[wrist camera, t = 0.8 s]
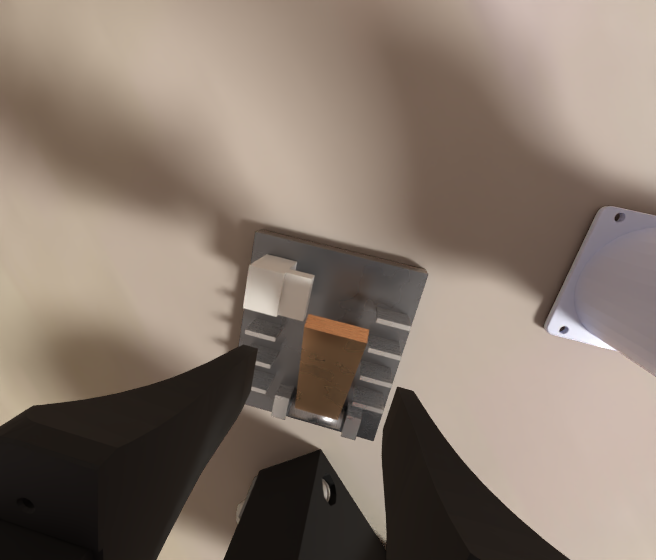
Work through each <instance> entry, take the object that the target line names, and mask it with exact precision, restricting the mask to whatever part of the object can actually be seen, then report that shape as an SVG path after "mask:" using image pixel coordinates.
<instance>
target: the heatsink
mask: <svg viewBox="0 0 656 560" xmlns="http://www.w3.org/2000/svg"><path fill="white" fill-rule="evenodd" d="M266 254H269V255H273V256H277V257H281V258H285V259H289V260H293V261H297V265H296V271H300V272H304V273H308V274H312V275H315V276H314V281H313V285H312V290H311V295H310V299H309V304H308V309H307V314H306V317H305V319H304V321H299V320H296V319H292V318H288V317H284V316H280V315H277V317H275V316H271V315H267V314H264V313H260V312H256V311H252V310H249V309H245V308H244V313H243V319H242V326H241V333H240V340H239V346H241V345H243V344H244V345H247V346H251V347H255V348H258V352H257V358H256V364H255V370H254V376H253V382H252V387H251V392H250V394H249V396H248V398H247V401H246V403H245V404H246V405H250V406H253V407H256V408H260V409H263V410H267V411H270V412H272V414H271V416H273V417H276V418H279V419H283V420H285V418H286V416H288V417H291V418H295V419H298V420H302V421H305V422H309V423H312V424H315V425H319V426H322V427H326V428H329V429H333V430H336V431H340V432H341V436H342V437H345V438H349V439H352V440H355V439H356V436H357V437H361V438H364V439H367V440H371V441H374V438H375V435H376V432H377V429H378V426H379V423H380V420H381V416H382V414H383V411H384V407H385V404H386V401H387V398H388V395H389V392H390V389H391V387H392V383H393V380H394V377H395V374H396V371H397V368H398V365H399V362H400V360H401V357H402V353H403V350H404V347H405V344H406V341H407V338H408V335H409V331H410V329H411V325H412V322H413V319H414V316H415V313H416V310H417V307H418V304H419V301H420V298H421V295H422V292H423V289H424V286H425V283H426V280H427V277H428V273H427V271H426V270H425V269H422V268H418V267H413V266H409V265H405V264H401V263H397V262H393V261H389V260H385V259H381V258H377V257H373V256H368V255H364V254H360V253H356V252H352V251H348V250H344V249H340V248H336V247H332V246H328V245H324V244H319V243H315V242H311V241H307V240H303V239H299V238H295V237H291V236H287V235H283V234H279V233H274V232H270V231H266V230H259V231H256V232H255V237H254V244H253V251H252V258H251V264H252V263H253V262H255V261H256V260H258V259H260V258H261V257H263V256H265V255H266ZM309 314H312V315H315V316H319V317H323V318H327V319H331V320H334V321H338V322H342V323H346V324H350V325H354V326H357V327H361V328H365V329H369V334H368V340H367V345H366V347H365V350H364V353H363V355H362V358H361V360H360V363H359V366H358V368H357V371H356V374H355V376H354V379H353V381H352V384H351V387H350V389H349V392H348V395H347V397H346V400H345V402H344V405H343V408H344V415H343V419H342V424H341V427H340V430H339V429H335V428H332V427H328V426H325V425H322V424H318V423H315V422H311V421H308V420H304V419H301V418H297V417H294V416H290V415H289V411H290V407H291V404H292V400H293V397H294V395H296V394H297V385H298V376H299V368H300V359H301V350H302V341H303V333H304V326H305V323H306V320H307V317H308V315H309Z"/></svg>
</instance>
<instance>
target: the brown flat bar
mask: <svg viewBox="0 0 656 560" xmlns="http://www.w3.org/2000/svg"><path fill="white" fill-rule="evenodd" d="M368 334H369V329H365V328H361V327H357V326H354V325H350V324H346V323H342V322H338V321H334V320H331V319H327V318H323V317H319V316H315V315H312V314H309V315H308V317H307V320H306V323H305V326H304V333H303V341H302V350H301V359H300V368H299V376H298V385H297V394H296V395H294V397H293V400H292V404H291V407H290V411H289V415H290V416H294V417H297V418H301V419H304V420H308V421H311V422H315V423H318V424H322V425H325V426H328V427H332V428H335V429H339V430H340V427H341V424H342V419H343V415H344V408H343V405H344V402H345V400H346V397H347V395H348V392H349V389H350V387H351V384H352V381H353V379H354V376H355V374H356V371H357V368H358V366H359V363H360V360H361V358H362V355H363V353H364V350H365V347H366V345H367V340H368Z"/></svg>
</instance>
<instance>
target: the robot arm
mask: <svg viewBox="0 0 656 560" xmlns="http://www.w3.org/2000/svg"><path fill="white" fill-rule="evenodd" d="M618 213H619V214H620V218H619V219H618V220H617V221H615V220H614V218H615V216H616V214H618ZM563 326H565V329H564V330H563V331H559V329H560V328H561V327H563ZM544 329H545V330H546V331H547V332H548V333H549V334H551V335H555V336H559V337H563V338H567V339H571V340H575V341H579V342H583V343H587V344H591V345H595V346H598V347H602V348H606V349H610V350H614V351H618V352H620V353H621V354H623V355H624V356H626V357H627V358H629V359H630V360H632V361H633V362H635V363H636V364H637V365H639V366H640V367H642V368H643V369H645V370H646V371H648V372H649V373H651V374H652V375H654V376H655V377H656V215H651V214H647V213H642V212H638V211H633V210H629V209H624V208H619V207H615V206H605V207H602V208H601V209H599V211H598V212H597V214H596V216H595V218H594V220H593V222H592V224H591V226H590V229H589V231H588V233H587V235H586V237H585V239H584V241H583V243H582V245H581V248H580V250H579V252H578V254H577V256H576V258H575V260H574V262H573V265H572V267H571V269H570V271H569V273H568V275H567V277H566V279H565V281H564V284H563V286H562V288H561V290H560V292H559V294H558V296H557V298H556V301H555V303H554V305H553V307H552V309H551V311H550V313H549V315H548V317H547V320H546V322H545V324H544ZM257 352H258V348H255V347H251V346H247V345H244V344H243V345H241V346H239V347H237V348H235V349H233V350H231V351H229V352H228V353H226V354H224V355H222V356H220V357H218V358H216V359H214V360H212V361H210V362H208V363H206V364H203V365H201V366H199V367H196V368H194V369H192V370H190V371H187V372H185V373H183V374H180V375H178V376H175V377H172V378H170V379H167V380H164V381H161V382H158V383H155V384H151V385H148V386H144V387H140V388H136V389H133V390H129V391H125V392H121V393H117V394H112V395H107V396H102V397H96V398H91V399H85V400H78V401H71V402H63V403H54V404H46V405H36V406H32V407H30V408H29V409H27V410H25V411H24V412H22V413H21V414H19V415H17V416H16V417H14V418H13V419H11V420H10V421H8V422H6V423H5V424H3V425H2V426H0V560H156V559H157V557H158V555H159V553H160V551H161V549H162V547H163V545H164V543H165V541H166V539H167V537H168V535H169V533H170V531H171V529H172V528H173V526H174V524H175V522H176V520H177V518H178V516H179V514H180V512H181V510H182V508H183V506H184V504H185V502H186V501H187V499H188V497H189V495H190V493H191V491H192V489H193V487H194V486H195V484H196V482H197V480H198V478H199V476H200V475H201V473H202V471H203V470H204V468H205V466H206V465H207V463H208V462H209V460H210V459H211V457H212V456H213V454H214V453H215V451H216V449H217V448H218V446H219V445H220V443H221V442H222V440H223V439H224V437H225V436H226V434H227V433H228V431H229V430H230V428H231V427H232V425H233V424H234V422H235V421H236V419H237V418H238V416H239V414H240V413H241V411H242V409H243V407H244V405H245V403H246V401H247V398H248V396H249V394H250V392H251V387H252V382H253V376H254V370H255V364H256V358H257ZM382 469H383V483H384V497H385V511H386V530H387V541H386V560H570V559H568V558H567V557H566V556H565V555H563V554H562V553H561V552H559V551H558V550H557V549H555V548H554V547H553V546H552V545H550V544H549V543H548V542H546V541H545V540H544V539H543V538H542V537H540V536H539V535H538V534H537V533H536V532H535V531H533V530H532V529H531V528H530V527H529V526H528V525H526V524H525V523H524V522H523V521H522V520H521V519H519V518H518V517H517V516H516V515H515V514H514V513H513V512H512V511H511V510H510V509H508V508H507V507H506V506H505V505H504V504H503V503H502V502H501V501H500V500H499V499H498V498H497V497H496V496H495V495H494V494H493V493H492V492H491V491H490V490H489V489H488V488H487V487H486V486H485V485H484V484H483V483H482V482H481V481H480V480H479V479H478V477H477V476H476V475H475V474H474V473H473V472H472V471H471V470H470V469H469V467H468V466H467V465H466V464H465V463H464V462H463V460H462V459H461V458H460V457H459V456H458V454H457V453H456V452H455V451H454V449H453V448H452V447H451V445H450V444H449V443H448V442H447V440H446V439H445V437H444V436H443V435H442V433H441V432H440V431H439V429H438V428H437V426H436V425H435V423H434V422H433V420H432V419H431V417H430V416H429V414H428V413H427V411H426V410H425V408H424V407H423V405H422V404H421V402H420V400H419V399H418V397H417V396H416V394H415V393H414V391H412V390H408V389H404V388H401V387H397V389H396V392H395V395H394V398H393V401H392V404H391V407H390V410H389V413H388V416H387V419H386V422H385V425H384V428H383V437H382Z"/></svg>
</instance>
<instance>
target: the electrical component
mask: <svg viewBox="0 0 656 560" xmlns="http://www.w3.org/2000/svg"><path fill="white" fill-rule="evenodd" d="M236 522H237V524H238V525H237V528H236V530H235V533H234V535H233V538H232V540H231V543H230V545H229V548H228V550H227V552H226V555H225V557H224V560H386V550H385V548H384V547H383V545H382V544H381V542H380V540H379V539H378V537H377V536H376V534H375V533H374V531H373V530H372V528H371V526H370V525H369V523H368V522H367V520H366V519H365V517H364V516H363V514H362V512H361V511H360V509H359V508H358V506H357V505H356V503H355V502H354V500H353V498H352V497H351V495H350V494H349V492H348V491H347V489H346V488H345V486H344V484H343V483H342V481H341V480H340V478H339V477H338V475H337V474H336V472H335V470H334V469H333V467H332V466H331V464H330V463H329V461H328V459H327V458H326V456H325V455H324V453H323V452H322V450H318V451H315V452H312V453H309V454H306V455H303V456H301V457H298V458H295V459H292V460H289V461H286V462H283V463H281V464H278V465H275V466H272V467H269V468H266V469H263V470H260V472H259V474H258V476H256V477H255V478H254V480H253V482H252V485H251V487H250V490H249V492H248V494H247V497H246V499H245V500H244V501H242V502H241V503H240V504H239V505H238V506H237V511H236Z"/></svg>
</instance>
